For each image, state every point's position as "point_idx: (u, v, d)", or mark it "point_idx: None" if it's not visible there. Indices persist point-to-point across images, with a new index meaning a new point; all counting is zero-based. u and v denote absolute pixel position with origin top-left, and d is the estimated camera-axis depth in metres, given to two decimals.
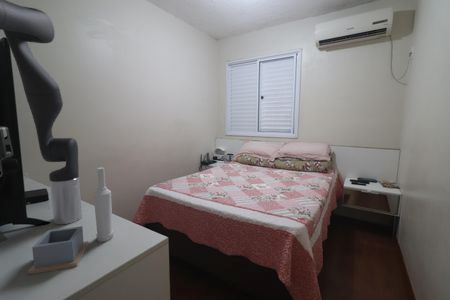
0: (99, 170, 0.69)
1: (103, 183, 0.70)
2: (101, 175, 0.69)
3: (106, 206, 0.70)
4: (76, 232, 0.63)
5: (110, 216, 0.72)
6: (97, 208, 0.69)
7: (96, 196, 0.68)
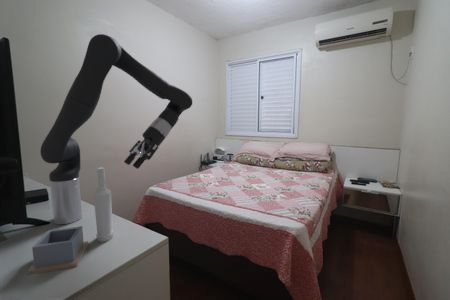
0: (99, 170, 0.69)
1: (103, 183, 0.70)
2: (101, 175, 0.69)
3: (106, 206, 0.70)
4: (76, 232, 0.63)
5: (110, 216, 0.72)
6: (97, 208, 0.69)
7: (96, 196, 0.68)
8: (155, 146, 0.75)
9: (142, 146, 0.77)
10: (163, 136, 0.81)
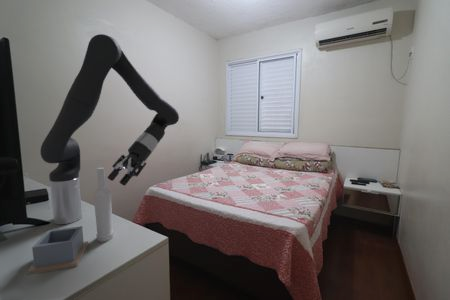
0: (99, 170, 0.69)
1: (103, 183, 0.70)
2: (101, 175, 0.69)
3: (106, 206, 0.70)
4: (76, 232, 0.63)
5: (110, 216, 0.72)
6: (97, 208, 0.69)
7: (96, 196, 0.68)
8: (143, 162, 0.75)
9: (128, 162, 0.75)
10: (150, 151, 0.80)
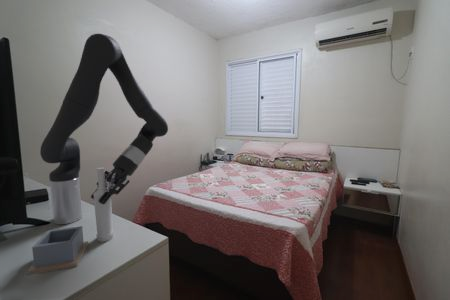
0: (99, 170, 0.69)
1: (103, 183, 0.70)
2: (101, 175, 0.69)
3: (106, 206, 0.70)
4: (76, 232, 0.63)
5: (110, 216, 0.72)
6: (97, 208, 0.69)
7: (96, 196, 0.68)
8: (126, 181, 0.70)
9: (112, 177, 0.72)
10: (136, 165, 0.76)
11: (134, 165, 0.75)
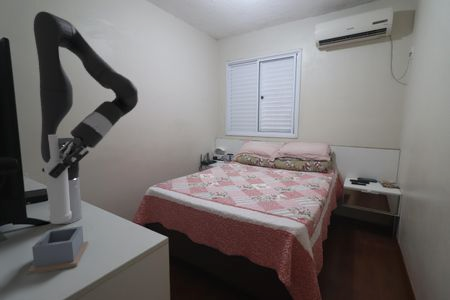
0: (50, 137, 0.57)
1: (56, 153, 0.58)
2: (53, 143, 0.57)
3: (60, 181, 0.58)
4: (76, 232, 0.63)
5: (66, 194, 0.60)
6: (48, 183, 0.57)
7: (47, 168, 0.57)
8: (84, 151, 0.58)
9: (68, 147, 0.60)
10: (100, 135, 0.64)
11: (97, 134, 0.63)
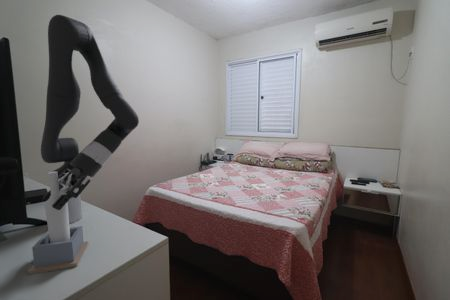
0: (50, 175, 0.58)
1: (56, 190, 0.59)
2: (53, 180, 0.59)
3: (60, 217, 0.59)
4: (76, 232, 0.63)
5: (66, 228, 0.61)
6: (49, 220, 0.58)
7: (47, 206, 0.58)
8: (86, 180, 0.59)
9: (68, 179, 0.60)
10: (99, 165, 0.65)
11: (96, 164, 0.64)
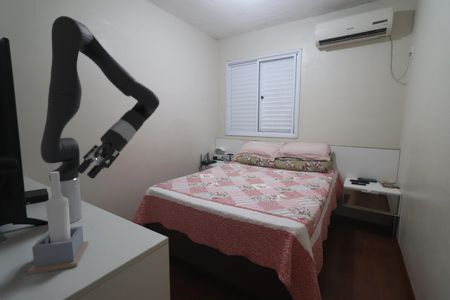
0: (52, 175, 0.58)
1: (57, 190, 0.59)
2: (54, 180, 0.59)
3: (61, 217, 0.59)
4: (76, 232, 0.63)
5: (67, 229, 0.61)
6: (50, 220, 0.59)
7: (48, 206, 0.58)
8: (116, 152, 0.65)
9: (99, 152, 0.66)
10: (126, 141, 0.71)
11: (123, 140, 0.70)
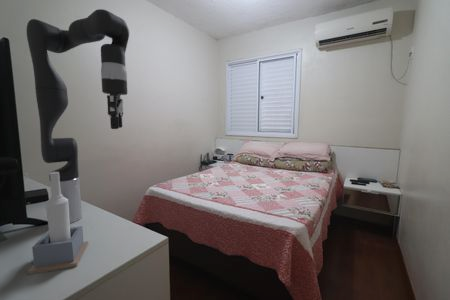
0: (52, 175, 0.58)
1: (57, 190, 0.59)
2: (54, 180, 0.58)
3: (61, 217, 0.59)
4: (76, 232, 0.63)
5: (67, 229, 0.61)
6: (50, 220, 0.58)
7: (48, 206, 0.58)
8: (111, 97, 0.64)
9: None
10: (118, 80, 0.67)
11: (114, 81, 0.66)
